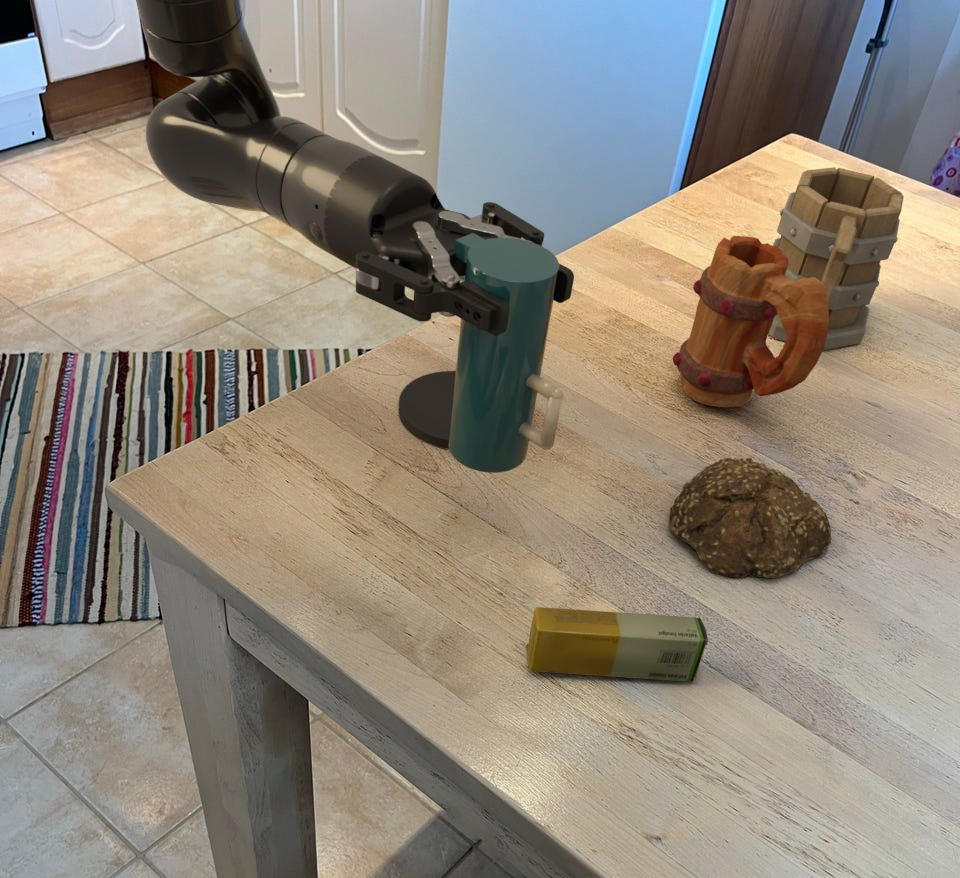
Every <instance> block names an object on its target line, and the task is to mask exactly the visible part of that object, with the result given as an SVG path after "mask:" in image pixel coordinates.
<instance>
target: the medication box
mask: <svg viewBox="0 0 960 878" xmlns="http://www.w3.org/2000/svg"><path fill="white" fill-rule="evenodd" d="M707 632H708V631H707V630H706V627H705V625H704V623H703V620H702V618H701V617H696V616H683V615H682V616H679V615H667V614H665V615H664V614H663V615H662V614H652V613H651V614H650V613H633V612H618V611H617V612H616V611H604V610H603V611H602V610H588V609H587V610H585V609H572V608H558V607H557V608H554V607H544V606H543V607H540V606H536V607H535V608H533V616H532V621H531V625H530V631H529V637H528V642H527V643H526V645H525V649H526V660H527V665H528V668H529V671H530V672H537V673H552V674H567V675H568V674H569V675H583V676H596V677H597V676H598V677H613V678H628V679H629V678H630V679H645V680H658V681H659V680H660V681H673V682H674V681H675V682H676V681H677V682H691V683H694V681H696V678H697V673H698V670H699V667H700V664H701V661H702V658H703V655H704V651H705V649H706V646H708V643H709V637H708V633H707Z"/></svg>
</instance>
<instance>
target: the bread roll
mask: <svg viewBox="0 0 960 878" xmlns="http://www.w3.org/2000/svg"><path fill="white" fill-rule="evenodd" d="M668 519H669V520H668V521H669V529H670V531H671V533H672V534H673V535H675V536H676V537H677V538H679V539H680V540H682V541H683V542H685V543H686V544H688V545H690V546H691V547H692V548H693V549H694V550H695V552H696V553H697V555H698V558H699V560H700V562H701V563H702V564H703V565H704V566H705V567H706V568H707V569H708V570H709V571H710V572H712V573H714V574H716V575H721V576H726V577H731V578H737V579H739V578H743V577H746V576H748V575H753V576H756V577H760V578H766V579H775V578H780V577H782V576H783V575H787V574H793V573H794V572H795V571H797V570H799V569H800V566H802V564H803V563H804V562H807V561H808V560H810V559H818V558H820V557H822V556H823V555H825V554H826V551H825V548H826V547H828V546H829V545H831V543H832V528H831V524H830V521H829V520H830V519H829V517H828V515H827V513H826V512H825V511H824V509H823V507H821V505H820V504H819V503H818V502H817V501H816V500H814V498H813V497H812V496H811V494H810V493H809V492H805V491H803V490H802V489H801V488H800V487H799V484H797V483H796V482H795V480H793V479H792V478H791V477H789V476H787V475H786V474H785V472H781V470H780V471H779V470H778V469H775V468H773V467H772V468H769V467H767V466H766V464H765V463H764V462H758V461H754V460H753V459H752V457H746V458H745V459H744V458H742V457H741V458H735V457H734V458H732V457H725V458H721V459H719V460H718V461H715V462H713V463H712V464H711V463H710V464H709V465H707V466H705V467H704V469H701V471H700V472H698V473H696V474H695V476H693V477H692V479H691V480H690V481H689V482H685V483H684V484H683V486H682V490H681V492H680V493H679V494H678V496H677V497H676V498H675V499H674V501H673V504H672V505H671V506H670V508H669V518H668Z"/></svg>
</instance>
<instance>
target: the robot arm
mask: <svg viewBox="0 0 960 878" xmlns="http://www.w3.org/2000/svg"><path fill="white" fill-rule="evenodd" d="M135 3H136V7H137V10H138V15H139V18H140V24H141V27H142V31H143V34H144V38H145V42H146V44H147V46H148V47H147V48H148V50H149V52H150V53H151V55H152V57H153V59H154V60H155V61H156V62H157V63H158V64H159V65H160V67H162V68H163V69H164V70H166V71H168V72H169V73H172V74H173V75H176V76H180V77H185V78H200V79H198V80H196V81H195V82H193V83H191V84H189V85H188V86H186V87H184V88H181V90H179V91H177V92H175V93H174V94H172V95H170V96H169V97H167V98H165V99H164V100H162V101H160V102H159V103H158V104H157V105H156V106H155V107H154V108H153V109H152V110H151V112H150V113H149V115H148V118H147V120H146V124H145V143H146V146H147V150H148V152H149V155H150V157H151V159H152V161H153V163H154V165H155V166H156V167H157V169H158V171H159V172H160V173H161V175H162V176H163V177H164V178H165V179H166V180H167V181H168V182H169V183H171V184H172V185H173V186H174V187H175V188H177V189H178V190H180V191H181V192H182V193H184V194H186V195H188V196H190V197H192V198H194V199H197V200H199V201H202V202H205V203H208V204H213V205H218V206H223V207H227V208H234V209H237V210H244V211H250V212H258V213H265V214H267V215H268V216H270V217H271V218H273V219H275V220H276V221H278V222H280V223H281V224H283V225H285V226H287V227H289V228H291V229H292V230H295V231H296V232H298V233H299V234H300V235H302V236H303V237H304V238H305V239H306V240H308V241H309V242H310V243H312V244H313V245H314V246H316V247H317V248H318V249H320V250H322V251H324V252H326V253H328V254H329V255H331V256H333V257H334V258H337V259H338V260H340V261H342V262H343V263H345V264H347V265H349V266H350V267H352V268H353V269H355V292H356V293H357V294H358V295H361V296H362V297H365V298H367V299H369V300H371V301H374V302H376V303H377V304H380V305H382V306H385V307H387V308H389V309H391V310H393V311H395V312H398V313H400V314H402V315H404V316H406V317H408V318H410V319H412V320H415V321H417V322H422V323H423V322H424V323H426V322H429V321H430V320H432V314H436V313H439V314H440V315H441V316H443V317H446V318H447V317H448V318H452V317H456V318H457V317H458V318H459V319H460V320H461V319H463V320H464V321H466V322H469V323H470V324H472V325H474V326H475V327H477V328H479V329H481V330H484V331H487V332H489V333H490V334H492V335H494V336H498V335H499V334H501V333H503V332H505V331H506V330H507V324H508V317H509V305H508V303H507V302H506V301H505V300H503V299H501V298H499V297H498V296H496V295H494V294H492V293H490V292H488V291H487V290H485V289H483V288H481V287H479V286H477V285H475V284H474V283H472V282H470V281H468V280H466V281H465V280H463V281H461V277H465V274H466V263H464V262H463V261H461V260H459V259H457V258H456V257H455V256H456V254H455V253H454V248H455V240H456V239H459V238H462V237H464V236H467V235H469V234H472V233H474V234H476V235H478V236H480V237H482V238H484V239H485V240H487V239H492V238H514V239H521V240H525V241H529V242H532V243H535V244H538V245H540V246H542V247H543V243H544V239H545V232H544V231H542V230H541V229H539V228H537V227H535V226H534V225H533V224H531V223H529V222H528V221H526V220H524V219H523V218H521V217H519V216H518V215H517V214H515V213H513V212H511V211H509V210H508V209H506V208H505V207H503V206H501V205H500V204H498V203H496V202H491V201H487V202H486V201H485V202H484V203H483V204H482V210H481V214H479V215H476V216H472V217H470V216H468V215H467V214H465V213H462V212H458V211H453V210H450V209H446V208H445V207H444V206H443V204H442V203H441V200H440V199H439V197H438V194H437V192H436V190H435V189H434V187H433V186H432V184H431V183H430V182H429V181H428V180H427V179H425V178H424V177H422V176H420V175H418V174H416V173H414V172H412V171H410V170H408V169H406V168H404V167H402V166H400V165H398V164H396V163H394V162H392V161H390V160H388V159H386V158H384V157H382V156H380V155H378V154H376V153H374V152H372V151H370V150H368V149H366V148H364V147H362V146H360V145H357V144H355V143H352V142H349V141H345V140H342V139H338V138H335V137H333V136H331V135H329V134H328V133H325V132H323V131H321V130H319V129H317V128H315V127H314V126H311V125H309V124H308V123H306V122H303V121H301V120H299V119H296V118H293V117H290V116H282V115H281V111H280V107H279V105H278V103H277V100H276V99H277V98H276V97H275V95H274V93H273V91H272V89H271V87H270V83H269V82H268V80H267V78H266V76H265V73H264V71H263V69H262V67H261V65H260V62H259V60H258V56H257V54H256V52H255V49H254V47H253V44H252V41H251V39H250V36H249V34H248V32H247V29H246V27H245V23H244V17H243V10H242V4H241V0H135ZM574 279H575V274H574V272H573V270H572V269H570V268H568V267H567V266H566V265H564V264H561V263H559V271H558V277H557V282H556V288H555V294H554V300H553V302H554V301H555V302H556V303H558V304H561V303H562V304H563V303H564V302H566V301H569V300H570V298H571V296H572V292H573V287H574V286H573V285H574V281H575V280H574ZM406 288H407V289H409V290H412V291H413V299H411V298H409V297H407V295H406Z"/></svg>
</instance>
